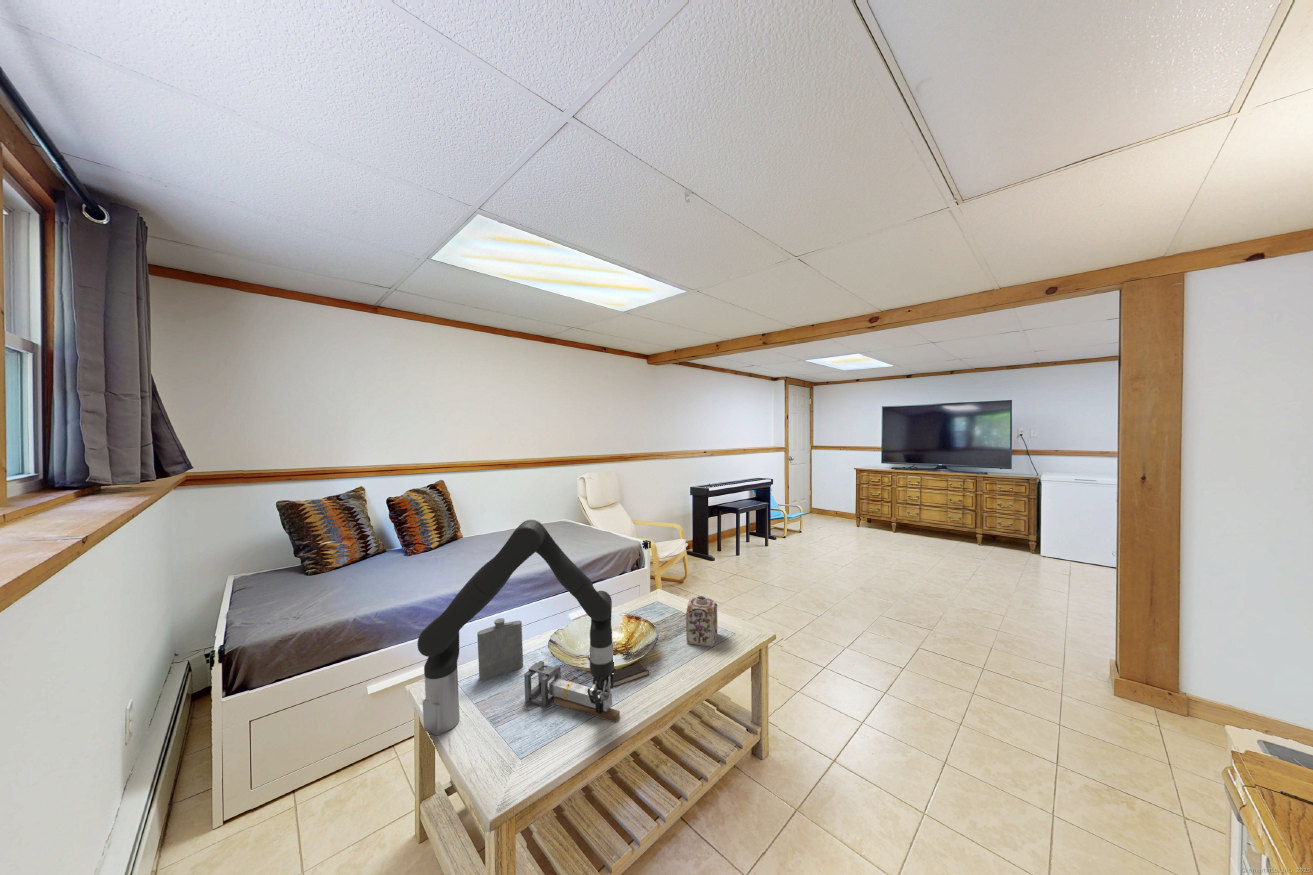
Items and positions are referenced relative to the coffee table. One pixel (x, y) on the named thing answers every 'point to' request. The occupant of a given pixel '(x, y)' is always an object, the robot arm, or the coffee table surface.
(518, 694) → the coffee table surface
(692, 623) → the decorative jar
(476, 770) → the coffee table surface
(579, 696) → the square steel tube
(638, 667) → the hardcover book
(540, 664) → the frame
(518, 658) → the hip flask
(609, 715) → the walnut rail
